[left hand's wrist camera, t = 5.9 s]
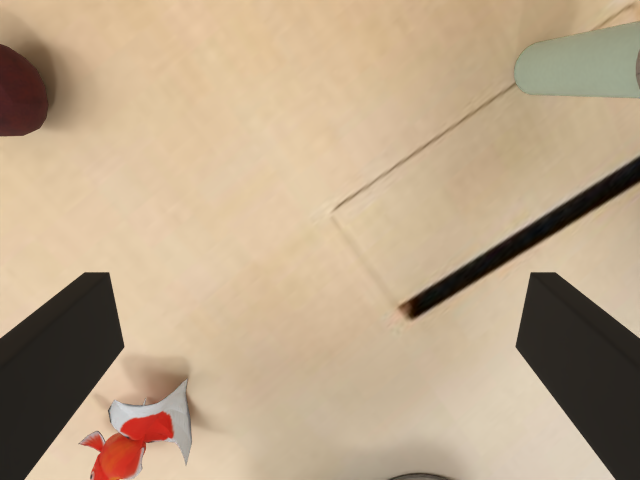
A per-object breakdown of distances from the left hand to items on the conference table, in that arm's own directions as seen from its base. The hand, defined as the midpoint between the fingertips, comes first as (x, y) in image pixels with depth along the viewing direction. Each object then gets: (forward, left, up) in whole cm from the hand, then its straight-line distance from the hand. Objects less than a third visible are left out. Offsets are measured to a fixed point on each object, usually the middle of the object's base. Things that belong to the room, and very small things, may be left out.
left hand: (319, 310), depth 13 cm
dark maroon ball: (+6, +27, -28) cm, 39 cm away
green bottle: (+8, -20, -28) cm, 35 cm away
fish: (-30, +21, -28) cm, 46 cm away
